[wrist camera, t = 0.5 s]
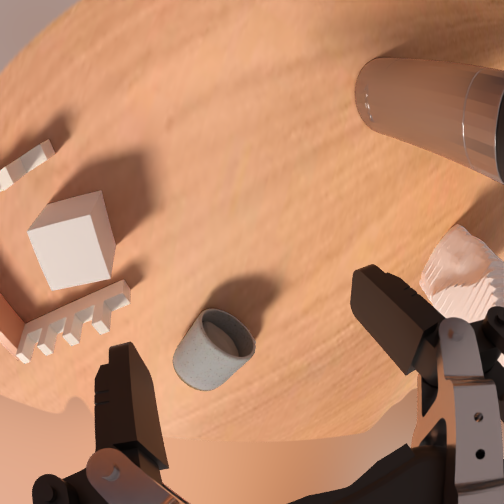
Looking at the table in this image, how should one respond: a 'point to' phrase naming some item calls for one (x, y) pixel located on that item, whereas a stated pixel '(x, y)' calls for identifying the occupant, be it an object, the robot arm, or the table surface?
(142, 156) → the table surface
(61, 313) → the notched wall frame
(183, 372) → the ceramic mug
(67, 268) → the white cube
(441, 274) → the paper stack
